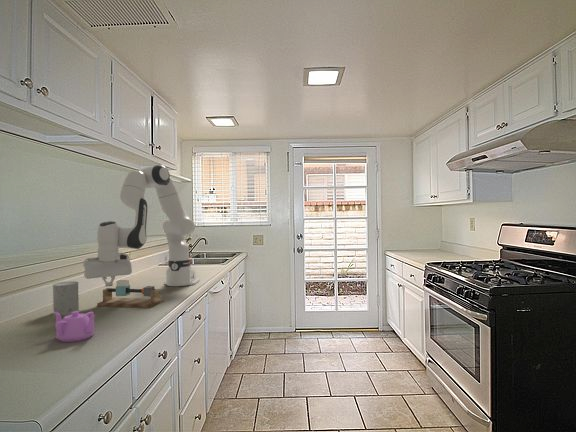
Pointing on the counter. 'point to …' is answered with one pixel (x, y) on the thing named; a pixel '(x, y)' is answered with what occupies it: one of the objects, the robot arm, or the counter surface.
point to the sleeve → (122, 288)
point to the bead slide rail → (137, 290)
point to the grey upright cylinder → (65, 297)
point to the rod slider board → (130, 300)
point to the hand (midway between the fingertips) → (108, 286)
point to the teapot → (74, 326)
